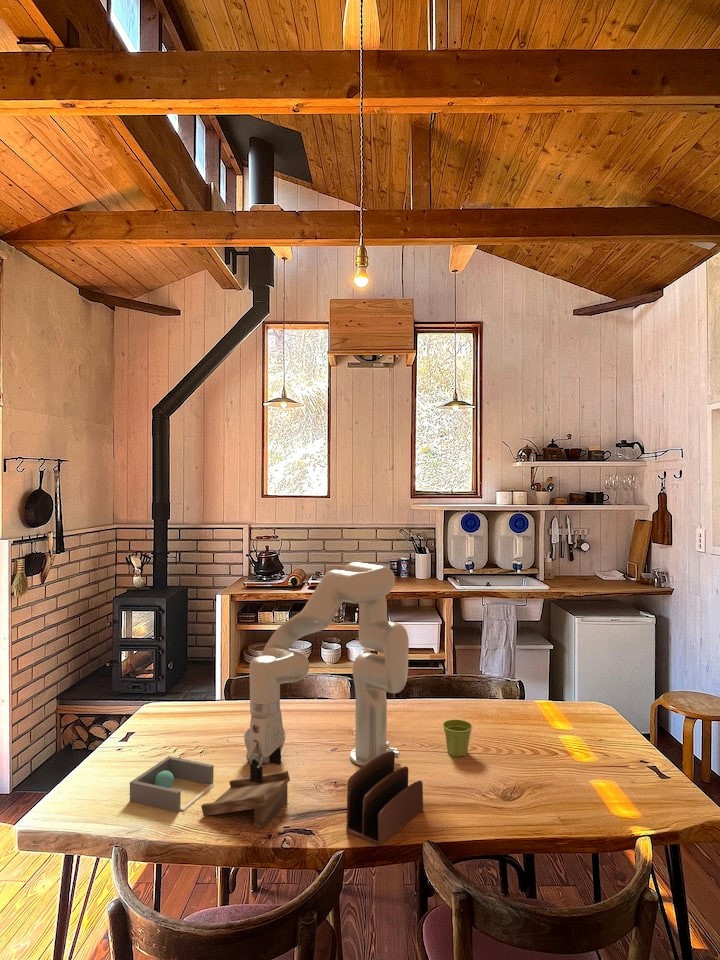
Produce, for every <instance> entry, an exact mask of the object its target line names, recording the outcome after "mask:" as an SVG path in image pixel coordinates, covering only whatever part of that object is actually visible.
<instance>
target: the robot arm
mask: <svg viewBox="0 0 720 960" xmlns="http://www.w3.org/2000/svg"><path fill="white" fill-rule="evenodd" d="M395 584H396V576H395V573H394V571H393V570H392V569H391V568H389V567H387V566H385V565H380V564H379V565H378V564H373V563H366V562H357V561H356V562H355V561H354V562H349V563H348V564H346V565H345V566H344V568H343V570H340V569H332V570H328V571H327V572H325V574H324V575H323V576H322V577H321V579H320V581H319V583H318V584H317V586H316V587H315V589H314V591H313V593H312V594H311V596H310V598H308V600H307V602H306V603H305V606H304V607H303V608H302V610H300V612H298V613H297V614H295V615H293V616H292V617H290V618H289V619H287V620H286V621H284V623H282V624H281V625H280V626H278V628H277V629H276V630H275V631H273V634H271V637H270V638H269V639H268V641H267V643H266V645H265V646H264V648H263V650H262V651H261V654H260V655H259V656H255V657H254V658H252V659H251V661H250V662H249V714H250V715H251V716H250V722H249V728H250V734H249V751H247V753H246V754H245V758H246V760H247V765H248V767H249V777H250V781H251V782H256V783H262V782H263V775H264V774H263V766H262V764H263V763H262V760H263V757H264V758H267V757H268V756H269V763H268V764H273V765H278V766H279V765H280V766H281V764H282V750H281V749H279V748H281V747H282V743H283V729H284V726H283V717H282V709H281V698H280V697H281V692H280V691H281V686H280V685H282V684H287V683H295V682H299V681H300V680H303V679H304V678H305V677H306V676H307V674H308V672H309V671H310V661H309V659H308V658H307V656H306V655H304V654H303V653H301V652H298V651H295V650H292V649H290V648H291V647H292V646H293V645H294V643H295V642H297V641H298V640H299V639H301V638H303V637H305V636H307V635H310V634H315V633H318V632H321V631H323V630H326V629H328V627H329V626H330V624H331V623H332V621H333V619H335V618H334V617H335V616H336V614H337V612H338V611H339V609H340V608H341V606H342V604H343V603H344V602H345V603H350V604H358V611H359V613H358V641H359V644H360V646H362V647H363V648H364V649H367V650H370V651H373V652H377V653H380V654H377V653H373V652H362V653H361V654H359V655H358V656H357V657H355V659H354V660H353V664H352V678H353V685H354V691H355V725H354V726H355V730H354V732H355V735H354V736H355V738H354V740H355V742H354V743H355V746H354V747H355V748H353V749H352V750H351V751H350V753H349V758H350V761H351V762H353V763H354V764H356V765H358V766H361V767H363V766H364V765H366V764H367V763H369V762H370V761H372V760H373V759H375V758H376V757H378V756H380V755H382V754H384V753H387V752H389V751H394V753H395V759H400V756H401V755H400V751H399V748H396V747H391V746H390V741H388V740H387V731H388V729H387V726H388V725H387V724H388V721H387V720H388V719H387V717H388V716H387V715H388V714H387V711H388V710H387V707H388V701H387V695H386V694H387V693H390V694H398V693H400V692H402V691H403V689H404V688H405V687H406V683H407V681H408V674H409V673H408V672H409V650H410V649H409V647H410V646H409V642H410V640H409V635H408V632H407V630H406V628H405V626H403V625H402V624H400V623H399V622H396V621H395V622H394V621H390V620H389V619H388V603H387V598H386V596H387V595H388V594H390V593H391V592H392V590H394V588H395ZM381 654H384V655H381ZM386 692H387V693H386ZM257 752H260V754H259V753H257ZM255 757H259V759H258V762H257V761H256V760H255Z"/></svg>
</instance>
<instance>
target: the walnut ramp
mask: <svg viewBox="0 0 720 960" xmlns="http://www.w3.org/2000/svg"><path fill="white" fill-rule="evenodd" d="M289 774H290V773H289V771H288V770H284V771H278V772H272V773H267V774H263V782H262V783H256V782H251V781H250V776H249V777H243V778H237V779H231V780H230V781H229V782H228V783H229V786H230V787H229V788H228V789H227V790H225V791H224V793H223V794H221V796H219V797H218V798H217V799H216V800H214V802H208V803H203V804H202V805H200V808H201V811H202V815H203V817H206V816H212V815H219V814H220V815H221V814H226V813H227V814H228V813H233V812H239V811H246V810H253V809H254V810H253V811H254V812H253V813H254V814H253V815H254V816H253V817H254V818H253V819H254V821H253V825H254V826H253V827H255V828H258V829H264V828H265V827H266V826H267V825H268V824H269V823H270V821H271V820H273V818H274V817H275V816H276V815H277V814H278V813H279V812H280V810H281V809H282V808H283V807H284V806H285V805H286V804H287V803H288V789H289V788H288V786H289V785H288V783H289V782H290V781H291V778H290V775H289Z"/></svg>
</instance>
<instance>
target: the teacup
mask: <svg viewBox="0 0 720 960" xmlns="http://www.w3.org/2000/svg"><path fill="white" fill-rule="evenodd" d="M249 734H250V727H249V728H248V729H246V730H245V732H244V733H243V737H244V738H243V740H244V745H245V748H246V751H247V752H248V751H249ZM286 734H287V733H286V730H285V729H284V728H283V743H282V747H281V748H279V749H281V751H282V749H283V748H284V745H285V741H286V737H287V736H286ZM257 753H259V754H260V752H257ZM258 759H259V757H255V760H256V761H257V762H258ZM261 764H270V763H269V756H268V757H267V758H264V757H263V760H262V763H261Z"/></svg>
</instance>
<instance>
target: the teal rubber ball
mask: <svg viewBox="0 0 720 960" xmlns="http://www.w3.org/2000/svg"><path fill="white" fill-rule="evenodd" d="M174 782H175V777H174V776H173V774H172V773H171V772H169V771H162V772H160V773H159V774H158V775H157V776H156V778H155V785H157V786H162V787H166V788H171V789H172V787H173V785H174V784H175V783H174Z"/></svg>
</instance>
